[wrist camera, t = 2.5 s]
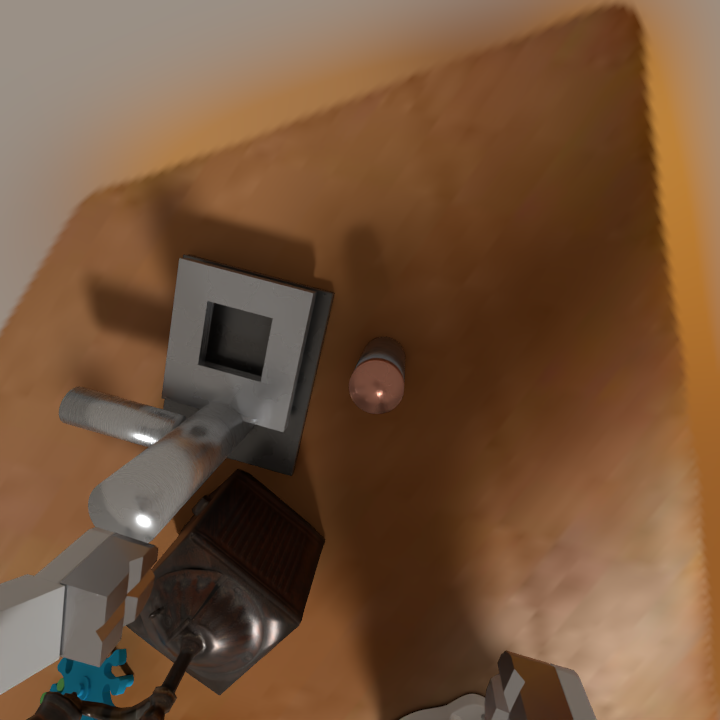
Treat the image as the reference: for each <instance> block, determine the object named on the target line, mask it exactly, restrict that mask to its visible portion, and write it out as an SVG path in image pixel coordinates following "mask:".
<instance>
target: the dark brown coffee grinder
mask: <svg viewBox="0 0 720 720" xmlns="http://www.w3.org/2000/svg"><path fill="white" fill-rule="evenodd" d="M192 511H193V513H194V514H195V515H194V516H193V517H192V518H191V519H190V521H189V522H188V523H187V524H186V525H185V526H184V528H183V529H182V531H181V533H180V534H179V536H178V537H177V539H176V540H175V541H174V542H173V543H172V545H171V546H170V547H169V548H168V549H167V551H166V552H165V553H164V554H163V556H162V557H161V558H160V559H159V560H158V562H157V563H156V564H155V566H154V567H153V568H152V569H151V570H152V572H153V573H154V575H155V579H154V585H153V588H152V591H151V594H150V597H149V599H148V601H147V602H146V604H145V606H144V608H143V610H142V611H141V613H140V614H139V615H138V617H137V618H136V620H135V621H133V622H131V623H129V624H127V625H126V626H127V627H128V628H130V629H131V630H132V631H133V632H134V633H136V634H137V635H138V636H140V637H141V638H142V639H144V640H145V641H146V642H148V643H149V644H150V645H151V646H153V647H154V648H155V649H157V650H158V651H159V652H160V653H162V654H163V655H164V656H166V657H167V658H168V659H170V660H171V661H172V662H174V664H173V666H172V668H171V670H170V672H169V673H168V675H167V677H166V679H165V681H164V682H163V684H162V686H160V687H156V688H155V690H154V691H153V694H152V695H151V696H150V697H148V698H147V699H145V700H144V701H142V702H140V703H139V704H137V705H135V706H133V707H126V708H119V707H115V706H110V705H107V704H104V703H99V702H92V701H84V700H81V699H80V698H79V697H77V692H73V693H71V694H69V693H65V694H64V695H62V694H61V693H59V692H51V691H50V692H47V693H46V694H45V695H44V698H43V701H42V703H41V705H40V706H39V708H38V710H37V711H36V713H35V715H33V716H32V717H30V718H28V719H27V720H80V719H81V717H82V715H85V716H88V717H91V718H95V719H98V720H164V716H165V714H166V713H168V712H169V711H170V709H171V707H172V705H173V703H174V702H175V701H176V699H177V697H176V695H175V691H176V689H177V687H178V685H179V683H180V681H181V679H182V677H183V675H184V673H185V671H186V672H187V673H188V674H190V675H191V676H192V677H194V678H195V679H197V680H198V681H200V682H201V683H202V684H204V685H205V686H207V687H208V688H210V689H211V690H212V691H214V692H215V693H217V694H218V695H221V694H222V693H223V692H224V691H225V690H226V689H227V688H228V687H230V686H231V685H232V684H233V683H234V682H235V681H236V680H237V679H239V678H240V677H241V676H242V675H243V674H244V673H245V672H247V671H248V670H249V669H250V668H251V667H252V666H253V665H254V664H255V663H257V662H258V661H259V660H260V659H261V658H263V657H264V656H265V655H266V654H268V653H269V652H270V651H271V650H272V649H273V648H274V647H275V646H276V645H277V644H278V643H279V642H281V641H282V640H283V639H284V638H285V637H286V636H287V635H289V634H290V633H291V632H292V631H293V630H294V629H296V628H297V627H298V626H299V624H300V622H301V621H302V617H303V612H304V609H305V605H306V602H307V599H308V595H309V592H310V589H311V585H312V582H313V578H314V575H315V571H316V568H317V564H318V561H319V558H320V554H321V551H322V548H323V545H324V543H325V539H324V538H323V537H322V536H321V535H320V534H319V533H318V532H317V531H316V530H315V529H314V528H313V527H312V526H311V525H310V524H309V523H308V522H307V521H305V520H304V519H303V518H302V517H301V516H299V515H298V514H297V513H296V512H295V511H294V510H292V509H291V508H290V507H289V506H288V505H286V504H285V503H284V502H283V501H282V500H280V499H279V498H278V497H277V496H276V495H275V494H273V493H272V492H271V491H270V490H269V489H267V488H266V487H265V486H264V485H263V484H261V483H260V482H259V481H258V480H256V479H255V478H254V477H253V476H252V475H250V474H249V473H246V472H244V471H241V470H239V469H237V470H236V471H235V472H234V473H233V474H232V475H231V476H230V477H229V478H228V479H227V480H226V481H225V482H224V483H223V484H222V485H221V486H219V487H218V488H217V489H216V490H215V491H214V492H212V493H211V494H210V495H209V496H207V495H205V496H204V497H203V498H202V499H201V500H199V502H198V503H197V504H196V505H195V506H194V507H193V509H192Z"/></svg>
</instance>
